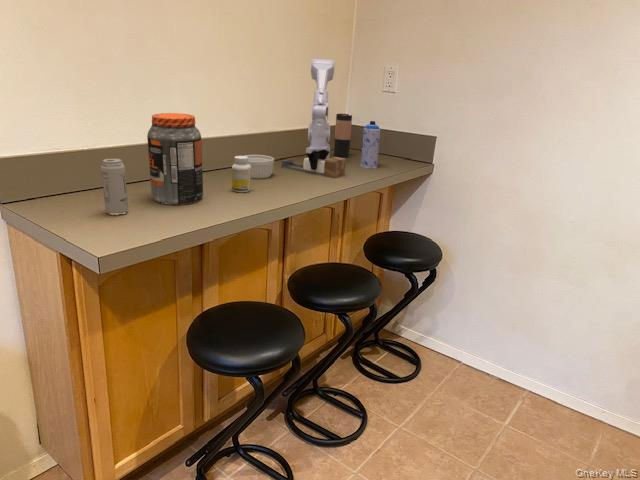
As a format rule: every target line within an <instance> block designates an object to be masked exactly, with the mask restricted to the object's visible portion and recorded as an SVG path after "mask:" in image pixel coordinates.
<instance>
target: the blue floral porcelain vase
mask: <svg viewBox="0 0 640 480" xmlns="http://www.w3.org/2000/svg"><path fill="white" fill-rule="evenodd" d="M380 140H381V128H380V127H379V125H377V124H376V121H374V120H371V121H369V124H366V125H365V126H364V128H363V133H362V144H361V154H360V165H359V167H360V168H363V169H373V170H374V169H377V168H378V161H379V159H378V157H379V149H380Z"/></svg>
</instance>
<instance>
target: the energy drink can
mask: <svg viewBox="0 0 640 480" xmlns="http://www.w3.org/2000/svg"><path fill="white" fill-rule="evenodd" d="M100 172H101V180H102V191H103V200H104V209H105V210H104V211H105V212H107V213H108V212H109V213H123V212H126V211H127V212H128V210H129V201H128V189H127V177H126V166H125V164H124V163H123V159H120V158H105V159H102V164H101V166H100Z"/></svg>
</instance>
